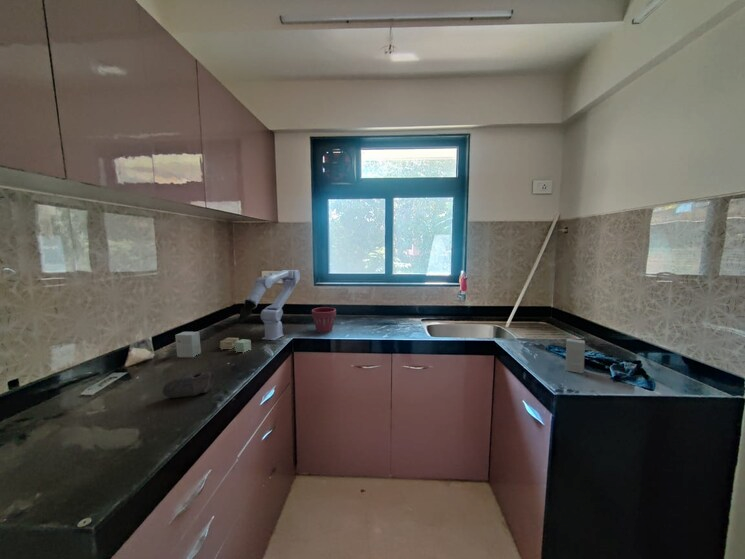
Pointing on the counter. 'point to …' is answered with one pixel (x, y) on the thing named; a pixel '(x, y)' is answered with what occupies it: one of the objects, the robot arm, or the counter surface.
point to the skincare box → (575, 355)
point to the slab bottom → (227, 347)
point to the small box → (188, 344)
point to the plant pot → (324, 318)
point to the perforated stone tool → (189, 385)
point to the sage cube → (242, 345)
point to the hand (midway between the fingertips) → (241, 318)
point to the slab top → (228, 341)
